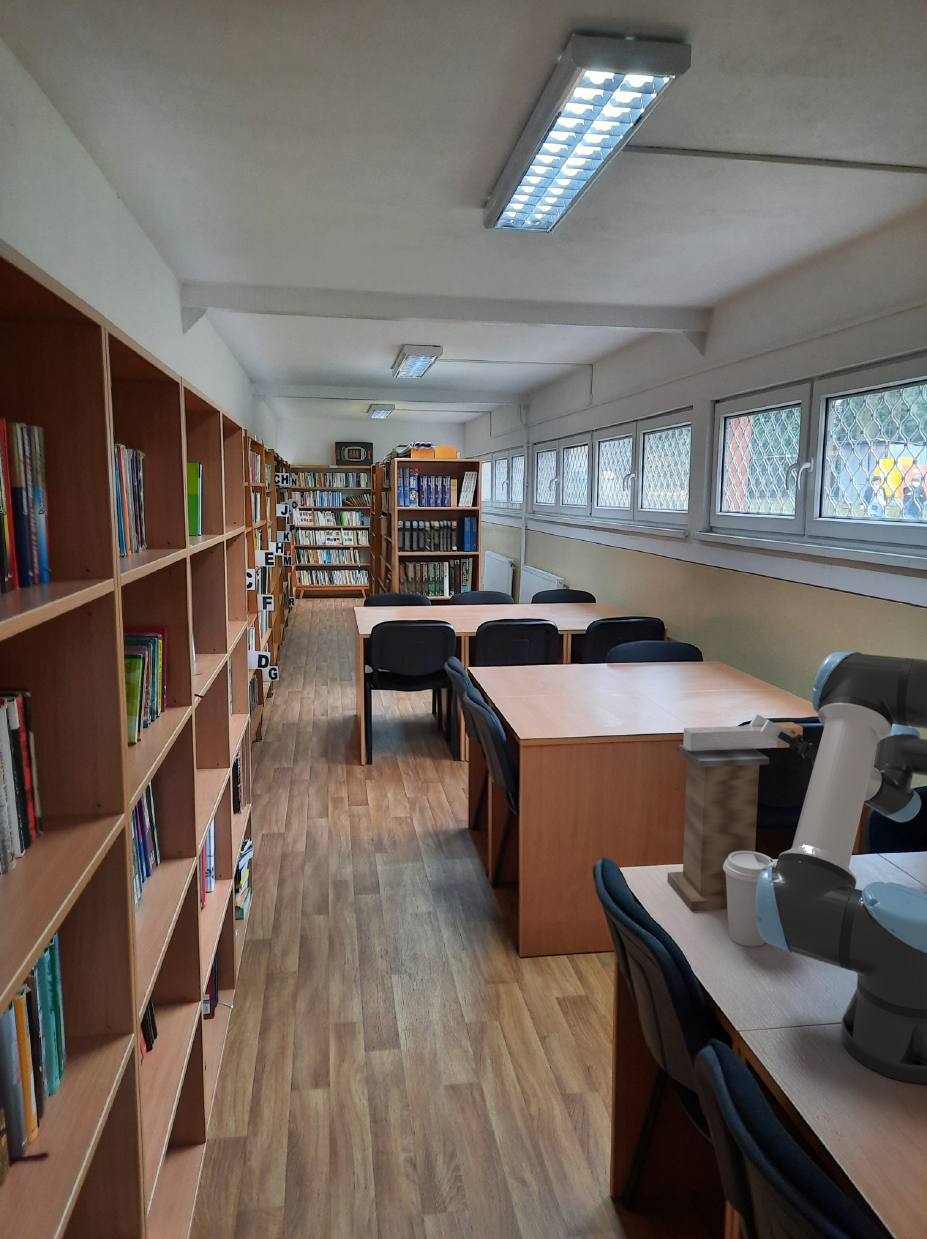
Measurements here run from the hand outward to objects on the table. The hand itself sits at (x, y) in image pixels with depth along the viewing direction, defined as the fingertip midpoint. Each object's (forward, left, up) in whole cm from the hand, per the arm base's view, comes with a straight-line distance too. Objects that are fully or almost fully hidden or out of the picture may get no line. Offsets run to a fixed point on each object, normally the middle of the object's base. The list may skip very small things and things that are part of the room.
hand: (759, 722), depth 166 cm
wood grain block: (-3, +2, -5) cm, 6 cm away
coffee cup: (-16, -10, -36) cm, 41 cm away
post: (-6, +4, -36) cm, 36 cm away
